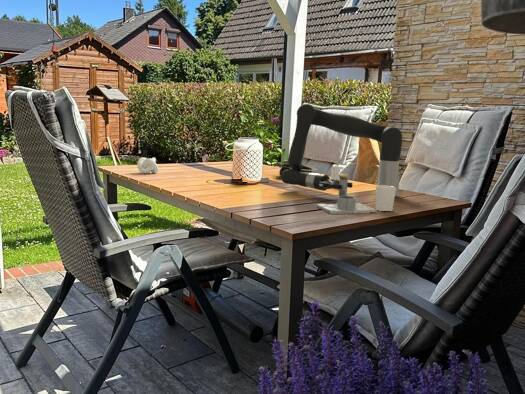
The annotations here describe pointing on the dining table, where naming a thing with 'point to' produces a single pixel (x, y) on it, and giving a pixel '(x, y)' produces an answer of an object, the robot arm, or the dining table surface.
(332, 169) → the sitting furry creature
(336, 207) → the hinge leaves
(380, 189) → the white cup
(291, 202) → the dining table surface
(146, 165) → the white animal figurine
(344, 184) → the hinge pin
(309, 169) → the stone bowl
